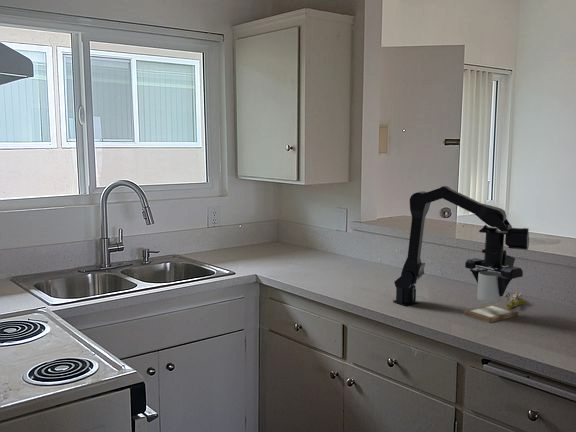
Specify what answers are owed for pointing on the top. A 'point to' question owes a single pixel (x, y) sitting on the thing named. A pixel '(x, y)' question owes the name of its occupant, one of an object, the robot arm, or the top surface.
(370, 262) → the top surface
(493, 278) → the cup
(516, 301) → the toy
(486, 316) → the wooden picture frame
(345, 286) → the top surface
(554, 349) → the top surface
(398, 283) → the robot arm
